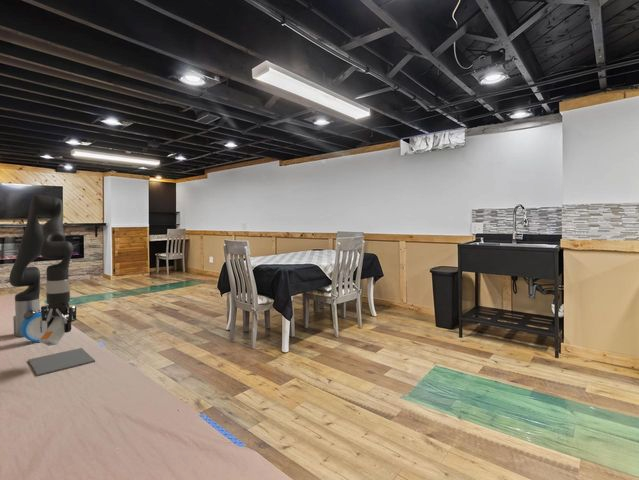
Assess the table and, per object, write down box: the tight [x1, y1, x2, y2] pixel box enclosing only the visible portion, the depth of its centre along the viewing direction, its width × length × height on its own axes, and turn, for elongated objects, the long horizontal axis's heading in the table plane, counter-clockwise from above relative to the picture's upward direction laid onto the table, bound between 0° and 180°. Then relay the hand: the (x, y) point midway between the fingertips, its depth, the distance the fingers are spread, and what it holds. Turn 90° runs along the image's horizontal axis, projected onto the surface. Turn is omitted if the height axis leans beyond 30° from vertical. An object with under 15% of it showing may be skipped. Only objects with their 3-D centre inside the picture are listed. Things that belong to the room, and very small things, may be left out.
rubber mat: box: [28, 347, 96, 377], centre depth 138 cm, size 20×18×1 cm
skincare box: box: [38, 314, 73, 347], centre depth 138 cm, size 6×4×12 cm
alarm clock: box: [20, 309, 50, 344], centre depth 162 cm, size 13×6×15 cm, turn 143°
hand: (59, 331), depth 139 cm, fingers closed on skincare box, 7 cm apart
